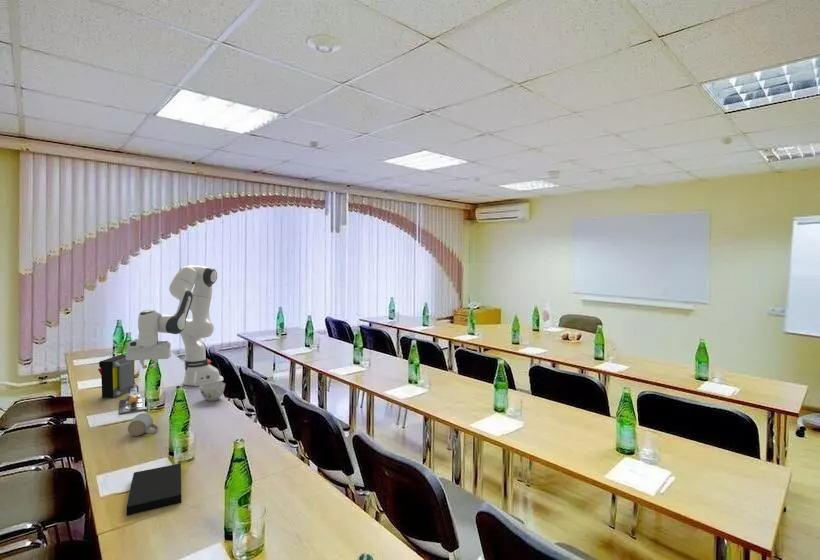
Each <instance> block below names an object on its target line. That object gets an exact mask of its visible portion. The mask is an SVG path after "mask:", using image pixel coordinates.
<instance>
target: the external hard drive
mask: <svg viewBox="0 0 820 560" xmlns="http://www.w3.org/2000/svg"><path fill="white" fill-rule="evenodd" d="M128 494H129V495H128V498H127V504H126V516H131V515H136V514H140V513H144V512H148V511H151V510H152V511H153V510H157V509H161V508H165V507H171V506H173V505H179V504H182V464H181V463H175V464H170V465H165V466H161V467H155V468H151V469H146V470H140V471H135V472H133V475H132V480H131V484H130V489H129V493H128Z"/></svg>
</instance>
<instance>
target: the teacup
mask: <svg viewBox="0 0 820 560" xmlns="http://www.w3.org/2000/svg"><path fill="white" fill-rule="evenodd" d="M225 388H226V383H225V382H223V381H221V382H211V383H206V384H203V385H201V386H199V391H200V395H201V396H202V397H203V398H204V399H205V400H206V401H207V402H215V401H217V400H219V398H221V396H222V395H223V394H224V392H225Z"/></svg>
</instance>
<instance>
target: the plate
mask: <svg viewBox="0 0 820 560" xmlns="http://www.w3.org/2000/svg"><path fill="white" fill-rule="evenodd" d="M145 397H146V396H140V398H138V403H136V404H129V399H127V398H126V399H121V400H119V409H118V411H119V412H118V414H120V415H125V413H126V414H131V412H132V413H138V411H139V412H143V411H144V412H145V411H148V410H147V408H146V407H145Z"/></svg>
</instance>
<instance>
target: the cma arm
mask: <svg viewBox="0 0 820 560" xmlns="http://www.w3.org/2000/svg"><path fill="white" fill-rule="evenodd" d="M138 393H139V385H137V386H130V387H129V391H128V394H129V396H130V397H129V404H136V403H138V396H137V394H138Z"/></svg>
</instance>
